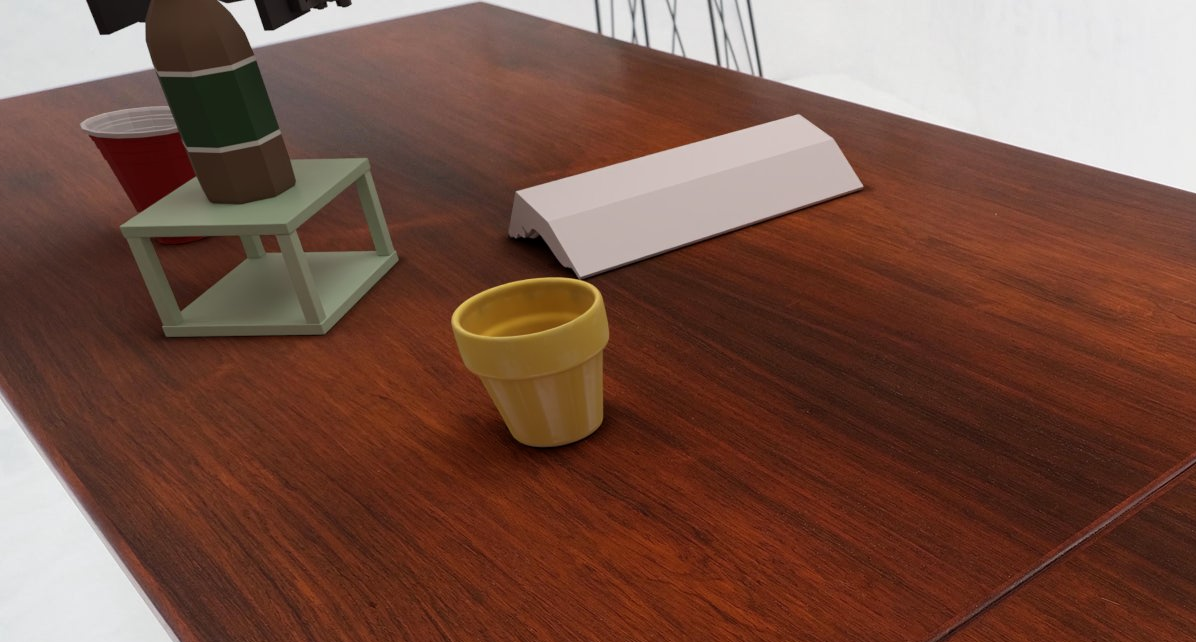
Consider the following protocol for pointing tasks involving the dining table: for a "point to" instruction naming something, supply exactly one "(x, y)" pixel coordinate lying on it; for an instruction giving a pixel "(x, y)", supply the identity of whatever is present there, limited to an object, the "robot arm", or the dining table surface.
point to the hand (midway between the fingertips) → (179, 15)
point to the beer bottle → (218, 100)
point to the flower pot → (538, 355)
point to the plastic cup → (143, 155)
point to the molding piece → (683, 195)
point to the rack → (266, 256)
